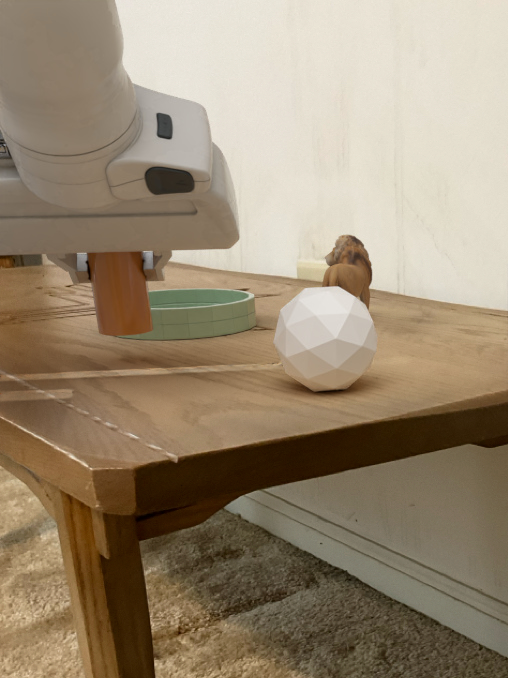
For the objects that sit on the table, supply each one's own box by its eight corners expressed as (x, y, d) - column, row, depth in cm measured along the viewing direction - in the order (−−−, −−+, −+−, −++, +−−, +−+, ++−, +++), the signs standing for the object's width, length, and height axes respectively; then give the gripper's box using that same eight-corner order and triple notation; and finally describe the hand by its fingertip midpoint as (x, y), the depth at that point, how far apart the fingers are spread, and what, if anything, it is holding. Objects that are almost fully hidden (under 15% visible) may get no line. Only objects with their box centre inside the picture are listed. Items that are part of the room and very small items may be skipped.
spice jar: (94, 336, 69) (75, 218, 65) (103, 328, 73) (86, 215, 69) (150, 334, 69) (135, 216, 66) (156, 325, 73) (141, 214, 70)
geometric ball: (320, 430, 65) (261, 356, 59) (302, 372, 70) (247, 299, 64) (406, 379, 64) (355, 299, 58) (381, 324, 69) (332, 246, 63)
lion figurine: (328, 316, 98) (324, 233, 94) (374, 315, 98) (372, 232, 94) (315, 339, 84) (310, 244, 81) (369, 339, 84) (366, 243, 81)
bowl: (96, 349, 81) (90, 311, 80) (119, 323, 95) (114, 290, 93) (257, 342, 83) (254, 306, 82) (256, 318, 97) (254, 286, 96)
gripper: (-92, 179, 54) (-16, 312, 67) (232, 174, 57) (246, 303, 70) (-84, 106, 57) (-12, 248, 69) (227, 105, 59) (242, 242, 72)
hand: (120, 276), depth 70 cm, fingers closed on spice jar, 4 cm apart
